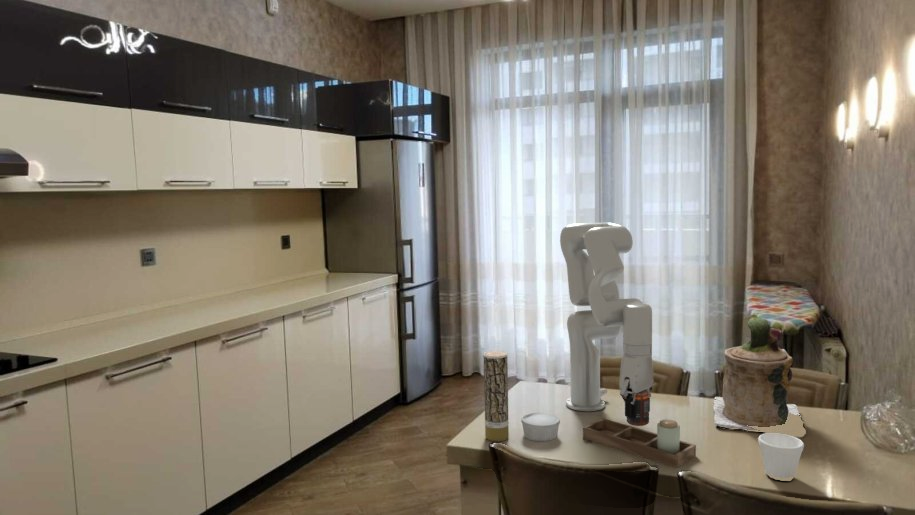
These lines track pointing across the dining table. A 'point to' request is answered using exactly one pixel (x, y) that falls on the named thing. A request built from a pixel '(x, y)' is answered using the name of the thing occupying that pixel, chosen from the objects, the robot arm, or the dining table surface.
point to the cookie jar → (755, 381)
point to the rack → (636, 442)
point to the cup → (780, 453)
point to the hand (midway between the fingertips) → (637, 413)
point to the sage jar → (668, 436)
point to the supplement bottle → (640, 409)
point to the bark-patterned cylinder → (496, 395)
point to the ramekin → (540, 426)
